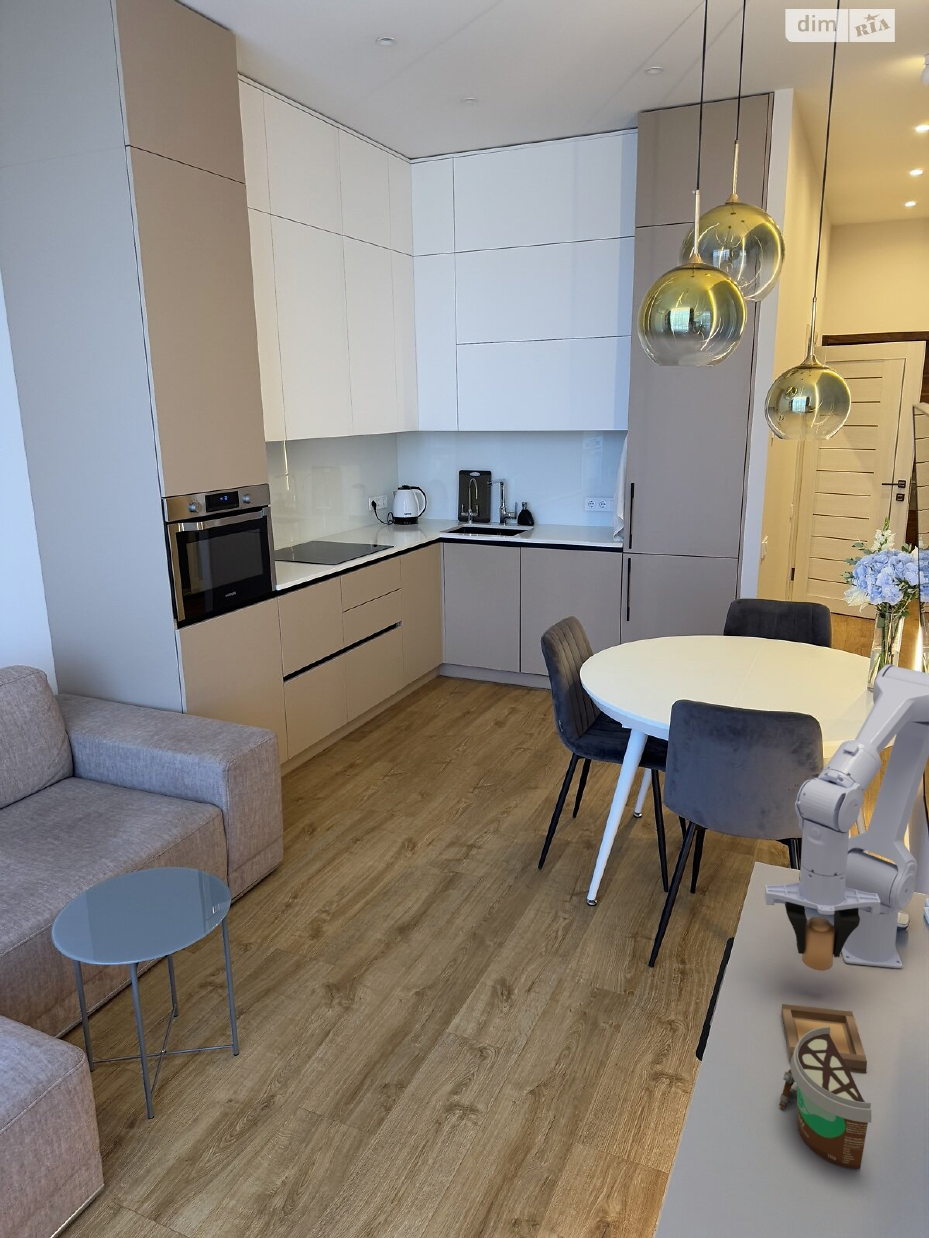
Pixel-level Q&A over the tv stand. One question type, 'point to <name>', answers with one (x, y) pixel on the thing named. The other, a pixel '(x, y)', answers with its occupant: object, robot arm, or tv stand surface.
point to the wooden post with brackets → (788, 1090)
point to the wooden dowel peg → (819, 944)
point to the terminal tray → (841, 1031)
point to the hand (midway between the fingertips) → (817, 950)
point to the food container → (828, 1101)
